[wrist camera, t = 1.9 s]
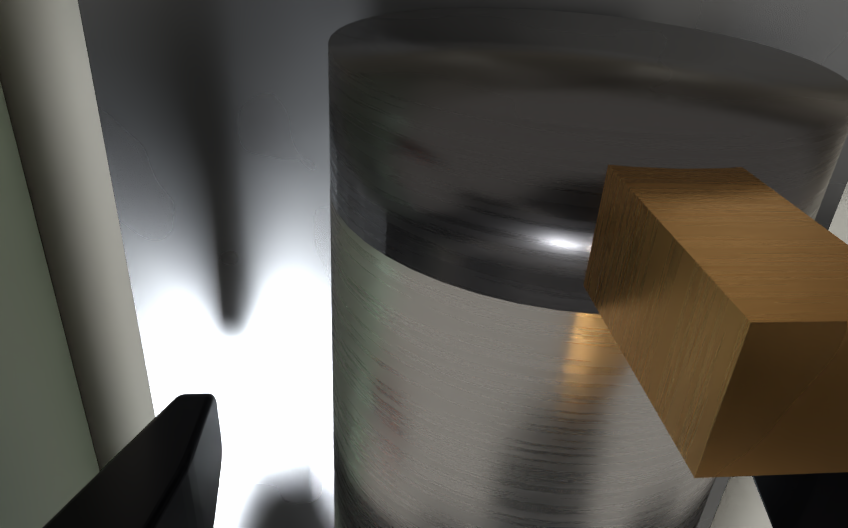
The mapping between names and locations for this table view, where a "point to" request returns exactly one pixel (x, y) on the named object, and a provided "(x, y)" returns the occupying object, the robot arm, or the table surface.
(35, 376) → the tray
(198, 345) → the bracket
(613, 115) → the silver oval rod
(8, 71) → the table surface
